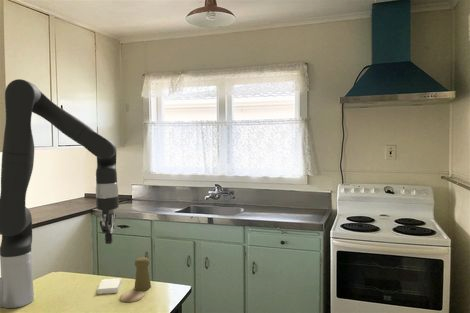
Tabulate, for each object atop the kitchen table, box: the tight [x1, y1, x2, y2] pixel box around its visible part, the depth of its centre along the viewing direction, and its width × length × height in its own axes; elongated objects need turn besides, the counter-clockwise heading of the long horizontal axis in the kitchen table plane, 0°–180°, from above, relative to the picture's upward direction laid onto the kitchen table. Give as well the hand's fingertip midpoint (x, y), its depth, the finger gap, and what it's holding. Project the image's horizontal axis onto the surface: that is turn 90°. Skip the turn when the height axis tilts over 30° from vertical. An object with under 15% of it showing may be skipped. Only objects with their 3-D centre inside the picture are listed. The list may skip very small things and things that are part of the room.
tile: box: [97, 277, 123, 295], centre depth 137 cm, size 7×2×9 cm
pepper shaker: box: [134, 256, 152, 292], centre depth 137 cm, size 6×6×11 cm
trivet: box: [119, 290, 145, 303], centre depth 129 cm, size 8×8×1 cm
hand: (109, 243), depth 133 cm, fingers closed
